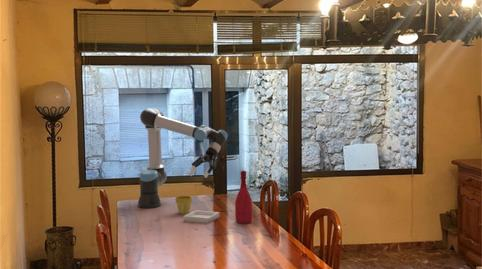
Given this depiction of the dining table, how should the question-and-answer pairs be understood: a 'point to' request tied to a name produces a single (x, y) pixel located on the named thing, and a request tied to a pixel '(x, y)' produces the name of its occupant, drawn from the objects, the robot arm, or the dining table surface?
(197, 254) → the dining table surface
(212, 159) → the robot arm
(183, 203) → the plant pot
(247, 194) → the wine bottle
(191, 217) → the white tray
